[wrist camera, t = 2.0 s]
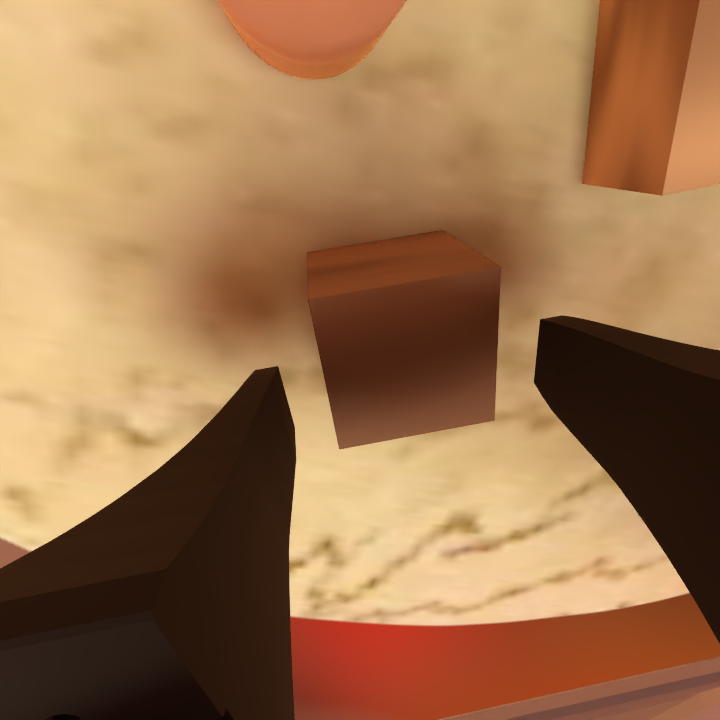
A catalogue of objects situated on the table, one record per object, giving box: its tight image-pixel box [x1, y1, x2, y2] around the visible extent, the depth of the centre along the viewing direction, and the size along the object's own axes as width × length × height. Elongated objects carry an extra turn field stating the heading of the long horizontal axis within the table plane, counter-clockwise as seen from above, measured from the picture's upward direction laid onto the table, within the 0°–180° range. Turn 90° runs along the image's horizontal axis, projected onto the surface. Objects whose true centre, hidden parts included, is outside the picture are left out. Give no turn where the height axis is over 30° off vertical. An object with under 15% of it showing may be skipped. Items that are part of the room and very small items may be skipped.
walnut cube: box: [307, 230, 501, 449], centre depth 13 cm, size 5×5×5 cm
